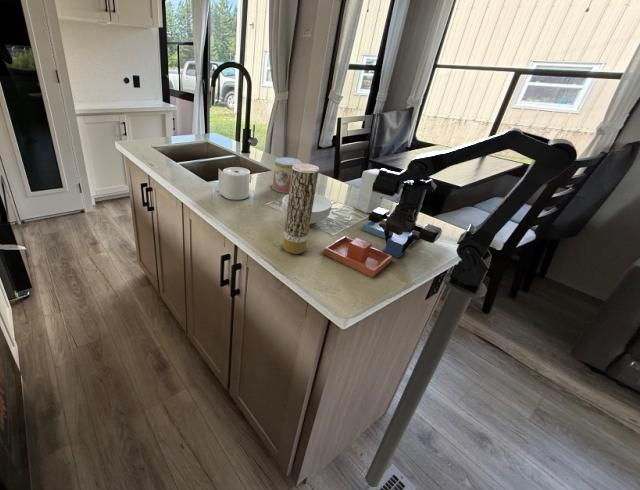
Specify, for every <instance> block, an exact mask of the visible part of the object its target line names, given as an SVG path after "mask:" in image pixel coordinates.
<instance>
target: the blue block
mask: <svg viewBox="0 0 640 490" xmlns="http://www.w3.org/2000/svg"><path fill="white" fill-rule="evenodd" d="M406 241H407V239H404V238H402V237H399V236H397V235H393V236H392V237H390V238H389V239H388V241H387V244H386V243H385V247H384V250H383V252H384V253H387V254H389V255H392V257H396V258H398V259H399V258H400V257H402V256H403V255H404V254H405V253H406V251H405V252H404V253H402V251H403V248H404V246H405V243H406Z"/></svg>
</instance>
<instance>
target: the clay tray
mask: <svg viewBox="0 0 640 490" xmlns="http://www.w3.org/2000/svg"><path fill="white" fill-rule="evenodd" d="M353 240H354V238H351V237H349V236H347V235H343V236H341V238H338V239H337V240H335V241H333V242H332V243H330V244H329V245H327V246H325V247H324V249H323V255H325V256H327V257H328V258H331V259H333V260H335V261H336V262H337V261H338V262H339V263H341V264H343V265H345V266H348V267H349V268H352V269H353V270H355V271H358V272H360V273H362V274H364V275H367V276H368V277H371V278H374V277H375V276H377V274H379V273H380V272H381V271H382V270H383V269H384V268H386V267H387V266H388V265H389V264H390V263H391V262H392V259H393V255H391V254H388V253H386V252H384V251H382V250H380V249H377V248H375V247H373V246H371V247H370V251H369V255H368V257H367V258H366V259H364V260H363V261H362V262H359V261H357V260H355V259H353V258H350V257H348V256H347V252H348V248H349V244H350V242H352V241H353Z"/></svg>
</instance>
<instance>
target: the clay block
mask: <svg viewBox="0 0 640 490" xmlns="http://www.w3.org/2000/svg"><path fill="white" fill-rule="evenodd" d="M370 247H372V242H369V241H366V240H363V239H361V238H359V237H356V238H355V239H353V241H352V242H350V244H349V248H348V252H347V256H348V257H350V258H353V259H355V260H357V261H359V262H362V261H363V260H364V259H366V258H367V257H368V255H369V251H370Z"/></svg>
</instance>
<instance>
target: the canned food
mask: <svg viewBox="0 0 640 490" xmlns="http://www.w3.org/2000/svg"><path fill="white" fill-rule="evenodd" d="M297 163H303V161H302V160H301V159H299V158H296V157H289V156H281V157H276V158H275V159H274V167H273V177H272V185H271V188H272V189H273V190H274V191H276V192H279V193H283V194H289V191H290V183H291V175H292V167H293V165H294V164H297Z"/></svg>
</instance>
